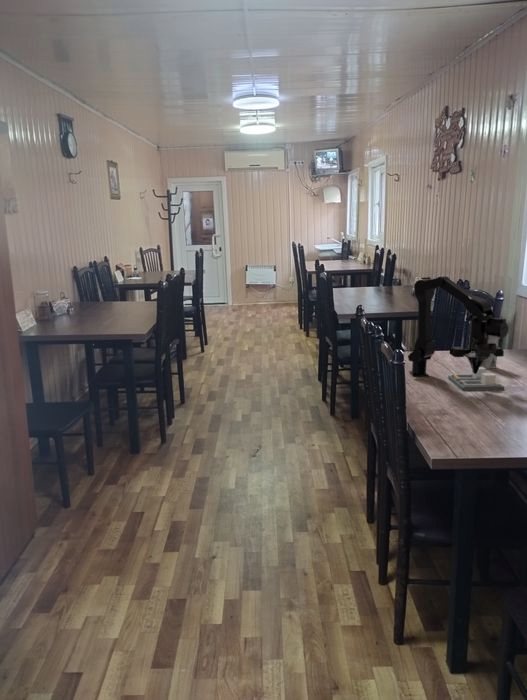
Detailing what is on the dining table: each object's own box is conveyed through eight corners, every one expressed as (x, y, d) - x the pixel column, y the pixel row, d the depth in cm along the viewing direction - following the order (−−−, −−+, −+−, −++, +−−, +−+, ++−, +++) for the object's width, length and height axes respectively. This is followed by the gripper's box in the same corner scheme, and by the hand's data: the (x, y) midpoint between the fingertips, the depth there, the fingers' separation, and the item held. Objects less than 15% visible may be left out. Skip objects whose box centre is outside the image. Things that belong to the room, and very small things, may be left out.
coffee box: (470, 364, 251) (473, 328, 247) (481, 362, 253) (484, 327, 249) (485, 369, 243) (488, 332, 239) (497, 367, 245) (500, 331, 241)
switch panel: (448, 378, 229) (448, 374, 229) (487, 378, 229) (487, 373, 229) (462, 390, 214) (462, 385, 213) (504, 389, 214) (504, 384, 213)
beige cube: (480, 382, 218) (481, 372, 218) (491, 382, 218) (492, 372, 218) (484, 385, 215) (485, 375, 214) (494, 385, 215) (495, 375, 214)
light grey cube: (472, 376, 227) (472, 366, 226) (481, 376, 227) (482, 366, 226) (475, 378, 224) (476, 369, 223) (485, 378, 224) (486, 369, 223)
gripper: (460, 338, 204) (457, 379, 208) (512, 337, 204) (508, 379, 208) (450, 332, 215) (447, 371, 218) (499, 331, 215) (495, 371, 219)
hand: (474, 373), depth 216 cm, fingers closed
